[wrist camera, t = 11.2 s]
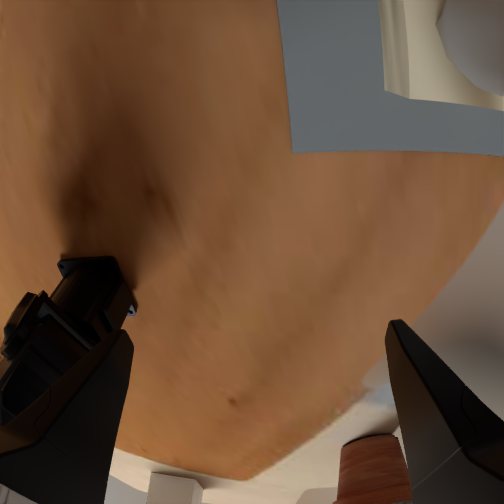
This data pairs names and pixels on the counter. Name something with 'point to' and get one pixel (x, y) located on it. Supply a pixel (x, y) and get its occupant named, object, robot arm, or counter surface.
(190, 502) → the milk
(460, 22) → the salt shaker
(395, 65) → the beech block
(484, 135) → the mat
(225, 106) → the counter surface
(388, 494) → the potted plant
